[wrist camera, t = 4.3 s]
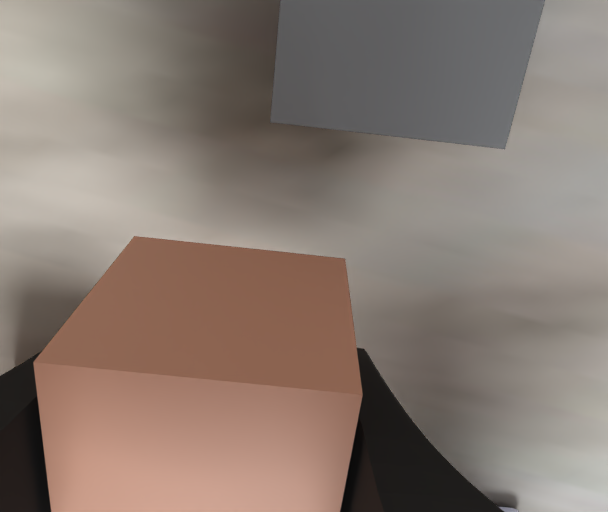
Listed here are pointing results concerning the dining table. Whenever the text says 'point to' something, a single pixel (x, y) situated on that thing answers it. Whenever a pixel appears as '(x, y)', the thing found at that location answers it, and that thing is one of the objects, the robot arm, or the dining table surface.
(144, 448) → the terracotta block
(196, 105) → the dining table surface
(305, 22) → the gray block
